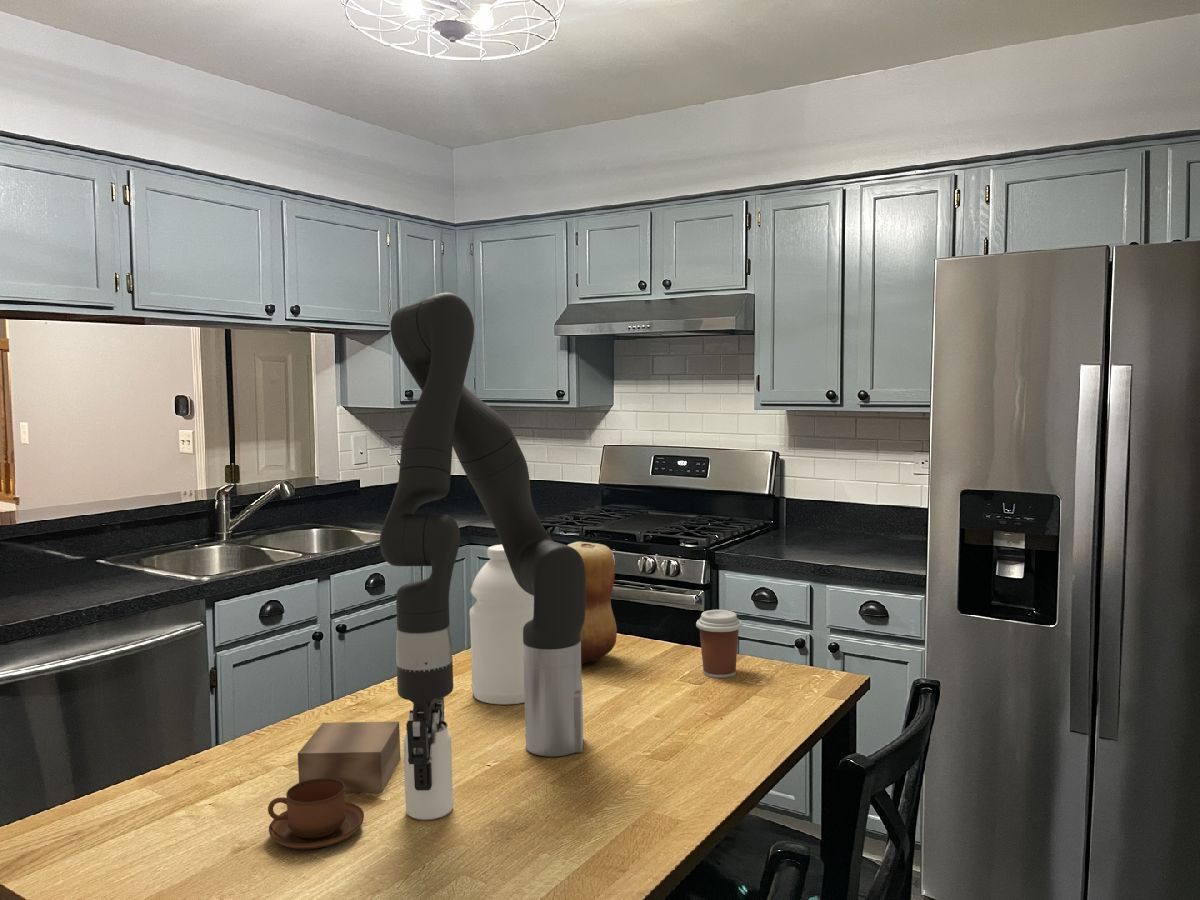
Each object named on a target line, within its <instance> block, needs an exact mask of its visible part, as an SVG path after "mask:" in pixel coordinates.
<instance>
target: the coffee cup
mask: <svg viewBox="0 0 1200 900" xmlns="http://www.w3.org/2000/svg"><path fill="white" fill-rule="evenodd" d="M737 616H738V615H737V613H736V612H735V611H731V610H729V609H727V610H726V609H711V610H705V611H703V612H702V613H701V615H700V618H699V619H697V621H696V623H695V627H696V628H697V629H699V638H700V640H699V641H700V649H701V659H702V661H701V662H702V671H703V672H702V673H703V674H704V676H707V677H708V678H714V679H726V678H732V677H734V676H735V675H736V674H737V673H736V671H737V656H738V643H739V631H740V630H741V629H742V627H743V622H742V621H741V620H740V619H739V618H738V617H737Z"/></svg>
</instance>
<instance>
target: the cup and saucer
mask: <svg viewBox="0 0 1200 900" xmlns="http://www.w3.org/2000/svg"><path fill="white" fill-rule="evenodd" d="M277 804H284V805H286V810H285V811H283V812H282V813H280V814H277V813H275V811H274V806H276V805H277ZM267 813H268V815H269V816H270V817H271V818H272V819H273V820H272V821H271V822H270V824H269V825H268V833H269V836H270V838H271V839H272V840H273V841H274V842H276V843H277V844H279V845H280V846H283V847H285V848H290V849H294V850H295V849H296V850H312V849H313V850H315V849H320V848H325V847H329V846H331V845H335V844H338V843H340V842H343V841H345V840H346V839H348V838H349V837H351V836H352V835H353V834H355V833H356V832H357V830H358V829H360V828H361V826H362V825H363V823H364V819H365V813H364V811H363V809H362V808H361V807H360V806H359V805H357V804H354V803H352V802H348V801H346V793H345V785H344V783H343V782H341V781H340V780H337V779H332V778H317V779H311V780H307V781H303V782H300V783H299V782H298V783H296V784H294V785H293V786H291V787H289V789H288V790H286V797H276V798H274V799H272V800H271V801H270V802H269V803H268V807H267Z"/></svg>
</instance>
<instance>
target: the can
mask: <svg viewBox="0 0 1200 900" xmlns="http://www.w3.org/2000/svg"><path fill="white" fill-rule="evenodd" d="M448 725H449V724H448V722H446V721H445V720H444V721H443V720H442V724H441V723H438V724H437V732H436V733H437V737H436V744H435V745H433V746H432V761H431V768H432V787H431V789H430V790H421V791H418V790H416V789H415V783H414V764H409V762H408V758H409V756H408V738H407V727H405V730H406V732H405V734H404V736H403V767H404V768H403V771H404V793H405V794H404V795H405V797H404V798H405V812H406V814H407V815H408V816H409V817H410V818H411V819H413V820H416V821H424V822H427V821H428V822H429V821H434V820H438V819H442V818H444V817H446V816H448V815H449V814H450V813H451V811H452V810H453V807H454V785H453V781H454V780H453V756H452V753H453V751H452V735H451V732H450V730H449V729H448ZM430 737H431V733H428V738H430ZM417 754H423V749H422V748H417Z"/></svg>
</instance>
